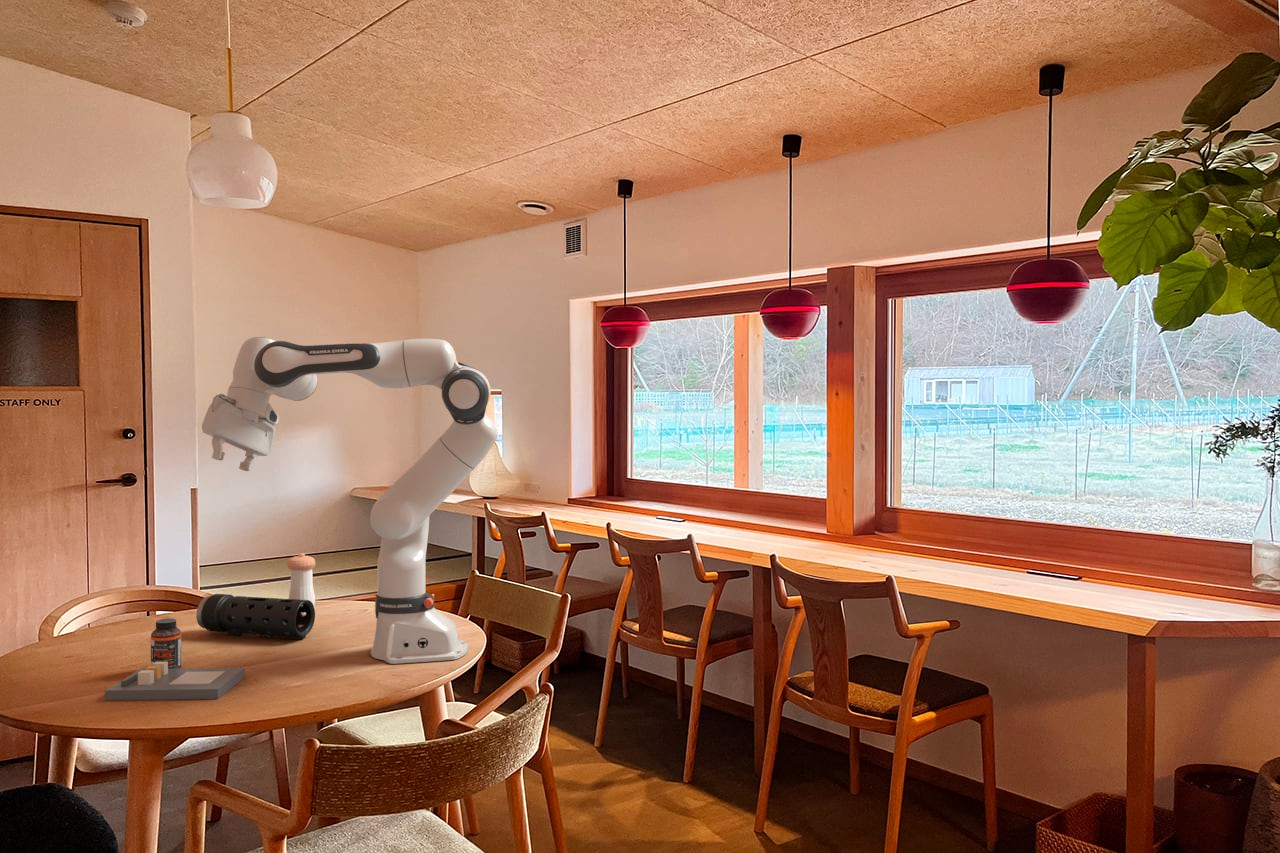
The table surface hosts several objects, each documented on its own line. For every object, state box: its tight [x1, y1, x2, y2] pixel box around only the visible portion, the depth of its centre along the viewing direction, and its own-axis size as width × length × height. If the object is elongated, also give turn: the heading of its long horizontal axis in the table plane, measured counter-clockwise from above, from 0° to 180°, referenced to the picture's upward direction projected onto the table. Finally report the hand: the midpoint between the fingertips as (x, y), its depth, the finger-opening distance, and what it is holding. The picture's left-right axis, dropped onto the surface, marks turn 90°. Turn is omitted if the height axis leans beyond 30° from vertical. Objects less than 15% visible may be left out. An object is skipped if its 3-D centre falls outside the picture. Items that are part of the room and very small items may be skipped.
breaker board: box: [104, 662, 246, 701], centre depth 184 cm, size 22×14×4 cm, turn 93°
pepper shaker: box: [287, 553, 317, 627], centre depth 235 cm, size 7×7×19 cm
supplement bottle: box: [150, 617, 182, 669], centre depth 195 cm, size 6×6×11 cm
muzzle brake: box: [195, 593, 316, 640], centre depth 224 cm, size 10×28×10 cm, turn 78°
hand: (230, 465), depth 196 cm, fingers open, 8 cm apart
